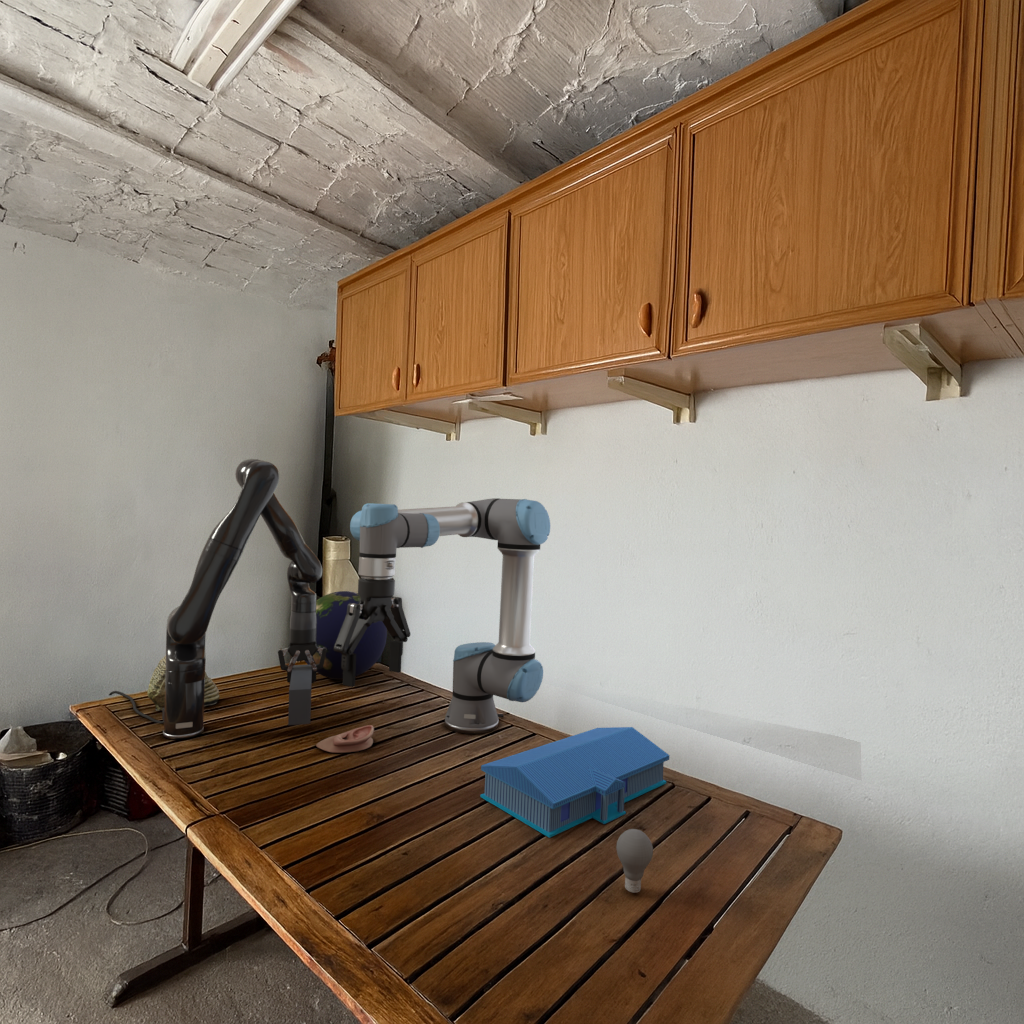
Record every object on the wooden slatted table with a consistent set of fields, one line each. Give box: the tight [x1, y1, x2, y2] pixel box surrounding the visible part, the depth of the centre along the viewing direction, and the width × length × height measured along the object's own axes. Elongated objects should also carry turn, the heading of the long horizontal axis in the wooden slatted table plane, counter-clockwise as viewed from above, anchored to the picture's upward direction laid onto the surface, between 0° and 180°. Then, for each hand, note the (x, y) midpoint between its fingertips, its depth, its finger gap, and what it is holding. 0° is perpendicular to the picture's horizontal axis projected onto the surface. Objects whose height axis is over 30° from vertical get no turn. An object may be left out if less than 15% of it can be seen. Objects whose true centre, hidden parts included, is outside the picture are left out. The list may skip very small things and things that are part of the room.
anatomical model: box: [316, 724, 375, 754], centre depth 162 cm, size 13×4×12 cm
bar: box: [287, 664, 313, 726], centre depth 178 cm, size 25×6×9 cm, turn 17°
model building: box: [479, 726, 670, 839], centre depth 141 cm, size 39×24×10 cm, turn 132°
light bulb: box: [615, 828, 654, 894], centre depth 106 cm, size 6×6×10 cm
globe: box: [304, 590, 388, 680], centre depth 220 cm, size 30×30×30 cm
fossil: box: [147, 654, 221, 712], centre depth 185 cm, size 9×18×15 cm, turn 132°
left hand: (301, 682), depth 186 cm, fingers closed on bar, 5 cm apart
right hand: (372, 678), depth 133 cm, fingers open, 13 cm apart
